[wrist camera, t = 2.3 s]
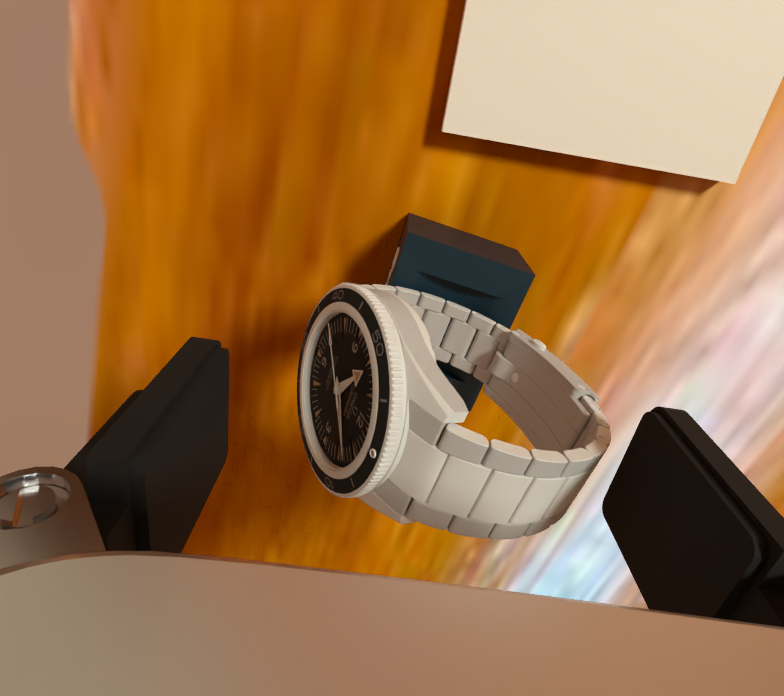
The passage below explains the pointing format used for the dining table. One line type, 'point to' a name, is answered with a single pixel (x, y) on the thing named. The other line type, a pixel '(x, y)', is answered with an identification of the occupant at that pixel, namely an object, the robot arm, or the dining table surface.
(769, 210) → the dining table surface
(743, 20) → the pad
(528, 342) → the watch
